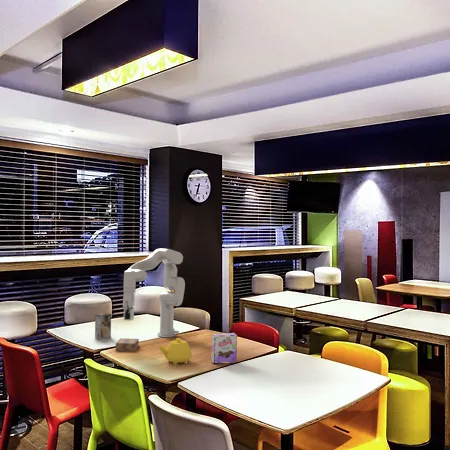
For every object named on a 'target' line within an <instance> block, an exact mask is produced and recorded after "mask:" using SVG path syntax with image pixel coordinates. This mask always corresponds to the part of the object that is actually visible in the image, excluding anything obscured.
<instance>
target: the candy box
mask: <svg viewBox="0 0 450 450" xmlns="http://www.w3.org/2000/svg"><path fill="white" fill-rule="evenodd" d="M211 336H212V337H211V359H210V360H212V361H213V362H214V363H221V362H222V363H223V362H236V363H237V355H238V354H237V353H238V351H237V346H238V344H237V343H238V335H237V334H236V333H235V332H232V333H230V332H229V333H212V334H211ZM212 361H211V362H212ZM213 362H212V363H213Z"/></svg>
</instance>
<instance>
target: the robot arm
mask: <svg viewBox="0 0 450 450" xmlns="http://www.w3.org/2000/svg"><path fill="white" fill-rule="evenodd" d="M183 259H184V256H183V254H182V253H181V252H179V251H176V250H173V249H171V248H156V249H154V251H153V252H152V253H151V254H150V255H148V257H147V258H145V259H143V260H140V261H137V262H135V263H134V264H132V265H131V266H130V267H129V268H128V269H127V270H124V273H123V296H122V298H123V299H122V300H123V301H122V308H123V310H124V309H125V319H130V308H134V306H135V301H136V300H135V298H136V297H135V293H136V283H137V282H144V281H145V280H147V276H148V274H147V271H149V270H153V269H155V268H156V267H157V266H158V265H160V263H161V262H162V263H163V266H164V268H165V272H164V278H163V287H164V289H166V290H165V291H162V292H160V294H159V296H158V300H159V307H160V311H159V312H160V314H159V315H160V316H159V332H158V333H157V336H158V337H159V338H172V337H175V336H176V334H177V335H179V334H180V331H179V330H175V328H174V317H175V316H174V315H175V314H174V313H175V311H174V307H179V306H181V305H182V303H183V300H184V297H185V296H184V294H185V289H186V287H185V286H186V283H185V279H184V278H183V277H181V276H178V267H177V266H176V265H181V264H182V263H183ZM168 290H171V291H168ZM173 306H174V307H173ZM128 309H129V310H128Z"/></svg>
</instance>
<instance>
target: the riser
mask: <svg viewBox="0 0 450 450" xmlns="http://www.w3.org/2000/svg"><path fill="white" fill-rule="evenodd" d="M138 347H139V338H127V337H126V338H125V337H124V338H122V337H121V338H119V339H118V340H117V341H116V342H115V351H118V352H120V351H121V352H123V351H126V352H135V351H136V350H137V349H138Z"/></svg>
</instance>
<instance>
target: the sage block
mask: <svg viewBox="0 0 450 450" xmlns="http://www.w3.org/2000/svg"><path fill="white" fill-rule="evenodd" d="M128 310H129V309H128ZM134 317H135V308H134V307H133V308H130V319H125V309H124V308H123V321H129V322H130V321H133V320H134V319H135V318H134Z"/></svg>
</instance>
